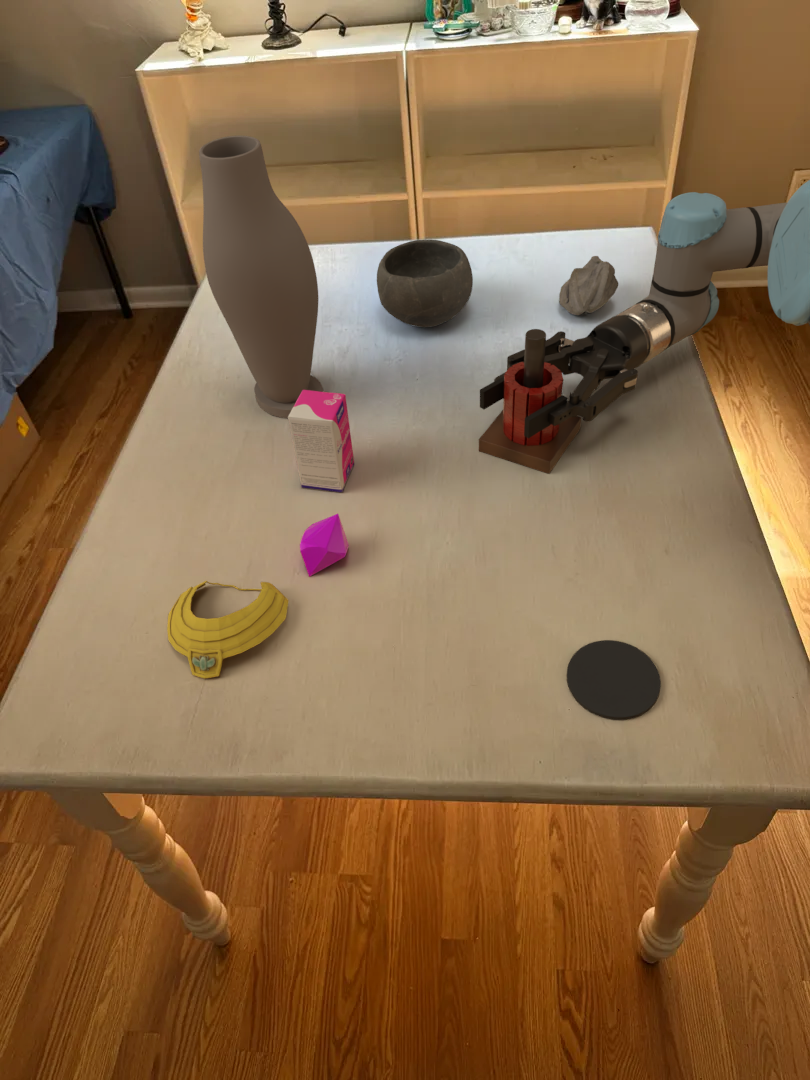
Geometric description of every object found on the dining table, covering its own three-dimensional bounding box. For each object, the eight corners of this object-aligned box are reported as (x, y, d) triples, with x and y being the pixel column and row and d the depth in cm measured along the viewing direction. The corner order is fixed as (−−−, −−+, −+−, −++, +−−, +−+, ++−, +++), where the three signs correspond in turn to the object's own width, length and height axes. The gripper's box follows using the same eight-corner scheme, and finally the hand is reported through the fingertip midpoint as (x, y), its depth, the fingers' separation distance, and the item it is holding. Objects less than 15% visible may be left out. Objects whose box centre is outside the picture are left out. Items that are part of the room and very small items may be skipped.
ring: (566, 420, 103) (571, 369, 97) (544, 451, 99) (548, 400, 93) (517, 406, 106) (519, 355, 100) (493, 436, 102) (494, 385, 96)
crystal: (304, 544, 93) (297, 517, 90) (349, 539, 93) (344, 511, 90) (304, 577, 90) (298, 550, 86) (351, 571, 90) (346, 544, 87)
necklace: (149, 615, 88) (138, 591, 84) (247, 560, 92) (239, 535, 89) (202, 689, 80) (191, 666, 77) (304, 625, 85) (298, 600, 82)
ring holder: (580, 429, 104) (592, 322, 93) (549, 474, 99) (557, 366, 87) (512, 409, 108) (515, 304, 97) (478, 451, 103) (478, 345, 91)
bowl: (459, 346, 120) (457, 286, 113) (368, 336, 124) (361, 277, 117) (482, 297, 129) (482, 239, 122) (397, 289, 133) (392, 232, 126)
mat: (672, 664, 78) (673, 661, 78) (641, 735, 73) (642, 732, 73) (587, 630, 82) (587, 627, 82) (551, 695, 77) (552, 692, 76)
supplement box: (344, 493, 99) (331, 421, 91) (300, 488, 100) (283, 417, 92) (357, 463, 103) (345, 391, 95) (314, 459, 104) (299, 388, 96)
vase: (349, 384, 115) (312, 131, 90) (302, 436, 108) (247, 176, 82) (275, 365, 120) (219, 120, 95) (225, 414, 112) (150, 162, 87)
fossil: (555, 290, 129) (559, 243, 124) (611, 288, 128) (617, 241, 123) (560, 326, 122) (564, 279, 116) (619, 325, 121) (626, 277, 115)
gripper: (574, 288, 109) (449, 354, 100) (695, 346, 97) (566, 426, 88) (569, 336, 114) (450, 402, 105) (684, 395, 103) (561, 476, 94)
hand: (503, 413), depth 97 cm, fingers closed on ring, 7 cm apart
